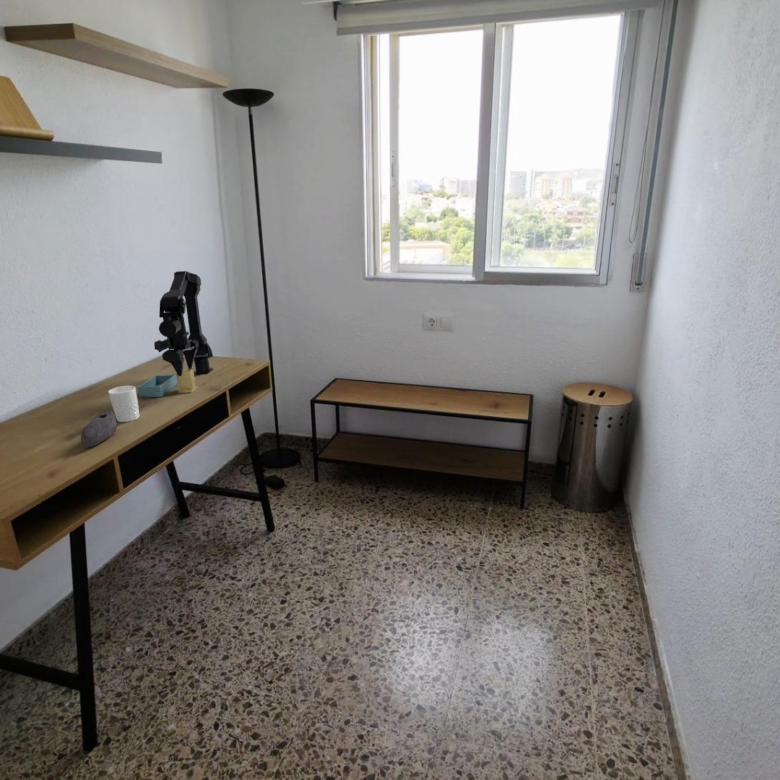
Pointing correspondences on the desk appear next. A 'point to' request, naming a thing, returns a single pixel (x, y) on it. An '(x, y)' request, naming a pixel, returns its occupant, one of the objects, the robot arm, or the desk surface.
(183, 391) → the brass bracket
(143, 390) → the blue rectangular open bin
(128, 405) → the white cup
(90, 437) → the perforated stone tool
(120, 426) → the desk surface
